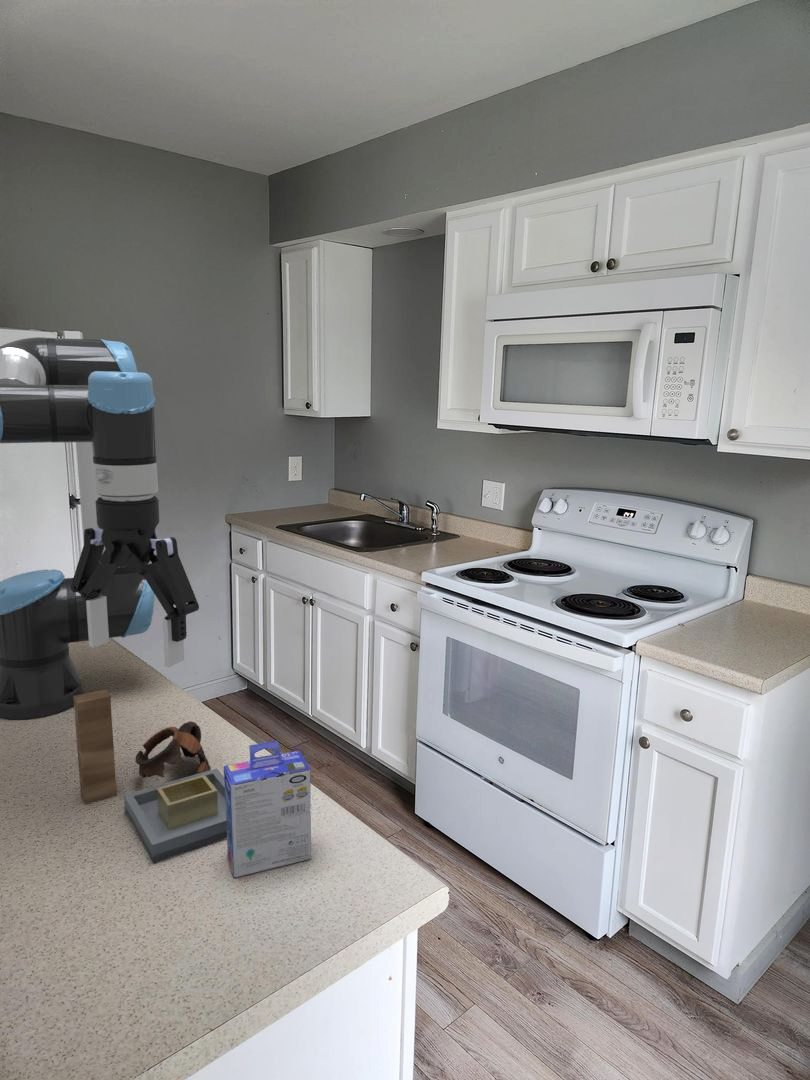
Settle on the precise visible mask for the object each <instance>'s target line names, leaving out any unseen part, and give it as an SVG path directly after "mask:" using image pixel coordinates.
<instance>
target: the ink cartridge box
mask: <svg viewBox="0 0 810 1080" xmlns="http://www.w3.org/2000/svg"><path fill="white" fill-rule="evenodd" d="M248 746H249V747H248V749H249V760H246V761H243V762H237V763H231V764H227V765H226V764H225V765H224V766H223V776H224V781H225V800H226V820H227V838H226V841H227V842H226V843H227V846H226V848H227V849H226V851H227V854H226V855H227V861H228V865H229V868H230V873H231V875H232V877H233V878H239V877H243V876H246V875H251V874H254V873H259V872H263V871H266V870H270V869H274V868H278V867H282V866H286V865H291V864H295V863H299V862H302V861H307V860H310V859H311V858H312V819H311V818H312V813H311V810H312V809H311V806H312V805H311V803H312V802H311V796H312V795H311V794H312V793H311V787H312V786H311V783H312V782H311V767H310V766H309V764H308V762H307V761H306V759H305V757H304V756H303V754H302V752H301V750H295V751H290V752H286V753H282V754H281V751H280V750H281V749H280V745H279V740H275V741H268V742H263V743H256V744H250V745H248ZM264 749H266V750H274V753H273V754H270V755H269V754H268V755H262V756H259V757H258V756H255V754H256V753H258V752H260V751H262V750H264Z"/></svg>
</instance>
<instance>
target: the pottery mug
mask: <svg viewBox="0 0 810 1080" xmlns="http://www.w3.org/2000/svg"><path fill="white" fill-rule="evenodd" d="M171 737H172V739H171V740H170V742H169V744H167V746H166V747H164V749H163V750H161V751H159V753H158V754H156V755H155V756H152V757H151V758H149V755H150V754H151V752H152V751H153V750H154V749H155V748H156V747H157V746H158V745H159V744H161V743H163V741H165V740H167V739H169V738H171ZM201 741H202V731H201V728H200V726H199V725H198V723H196V722H194V721H191V720H190V721H187V722H185V723H182V725H181V726H179V728H177V726H169V727H165V728H163V729H161V730H159V731H158V732H156V733H154V734H153V735H152V736H151V737H150V738H148V739H147V740H146V741H145V742H144V743H143V745H142V748H143V749H144V750H145V751H144V752H143V750H139V751H138V753H137V754H136V755H135V759H134V760H135V763H136V764H137V765H138V773H139V776H140V777H141V778H142V779H143V778H151V777H154V776H158V777H160V778H165V775H164V774H165V773H164V769H165V764H167V765H176V766H177V765H178V766H180V765H182V764H185V762H186V760H185V759H184V758H183V757H185V758H195V757H198V761H199V764H200V765H199V767H198V769H197V771H196V774H199V773H202V772H206V771H209V770H212V769H211V767H212V766H211V764H209V761H208V758H207V757H206V755H205V751H204V749H203V746H202V745H201ZM181 751H182V752H181ZM182 754H183V756H182Z"/></svg>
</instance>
